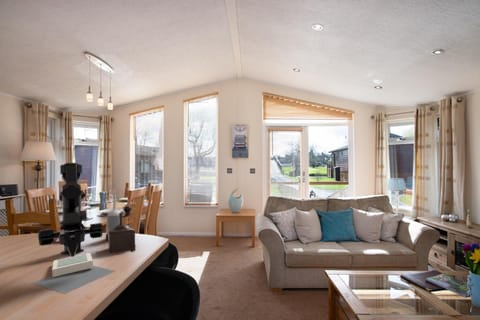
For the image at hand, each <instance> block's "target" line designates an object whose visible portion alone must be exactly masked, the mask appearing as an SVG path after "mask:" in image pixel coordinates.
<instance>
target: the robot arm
mask: <svg viewBox="0 0 480 320" xmlns="http://www.w3.org/2000/svg"><path fill="white" fill-rule="evenodd" d="M59 168H60V169H59V174H60V175H62V176H61V177H62V180H63V182H64V183H65V184H64V185H62V186H61V191H59V195H58V196H59V202H62V222H61V225H60V230H61V231H60V232H58V231H57V232H54V228H47V229H40V230H39V231H38V237H37V239H38V244H39V245H38V246H49V245H50V246H51V245H52V244H54V243H55V242H54V239H57V238H58V239H57V240H59V239H60V241H59V245H62V246H63V247H64V250H63V251H61V252H60V254H62V255H67V256H70V257H74V256H76V254H78V253H81V252H83V251H85V249H83V248H82V244H81V243H83V242H85V240H86V239H85V237H86V235H89V237H90V238H91V239H98V238H102V237H103V234H104V224H102V223H101V222H97V223H90V224H89V227H86V226H85V225H84V223H83V221H87V220H88V219H87V217H88V215H87V210H86V209H84V210H82V200H84V198H86V193H85V192H84V190H82V186H81V184H80V183H79V182H80V180H81V175H82V174H83V165H82V164H80V163H78V162H66V163H64V164H61V165H60V166H59ZM53 242H54V243H53Z"/></svg>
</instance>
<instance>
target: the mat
mask: <svg viewBox="0 0 480 320" xmlns="http://www.w3.org/2000/svg"><path fill="white" fill-rule="evenodd" d="M115 272H116V270H113V269H109V268H105V267H100V266H96V265H93V268H89V269H85V270H81V271H77V272H72V273H68V274H64V275H60V276H56V277H53V274H52V275H49V276H47V277H44V278H41V279H39V280H35V281H33V282H31V284H32V285H35V286H38V287H42V288H43V289H47V290H48V289H49V290H52V291H54V292H57V293H59V294H64V295H65V294H69V293H71V292H72V291H75V290H78V289H79V288H81V287H84V286H86V285H88V284H90V283H92V282H95V281H97V280H99V279H101V278H104V277H106V276H108V275H110V274H112V273H115Z"/></svg>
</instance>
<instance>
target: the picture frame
mask: <svg viewBox="0 0 480 320" xmlns="http://www.w3.org/2000/svg"><path fill="white" fill-rule="evenodd" d="M93 266H94V261H93V257H92V253H90V252H89V253H83V254H80V255H79V254H78V255H75V256H74V257H71V256H70V257H63V258H60V259H56V260H53V264H52V268H51V270H52V272H51V273H52V275H53V277H56V276H60V275H64V274H68V273H72V272H77V271H81V270H85V269H89V268H93Z"/></svg>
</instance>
